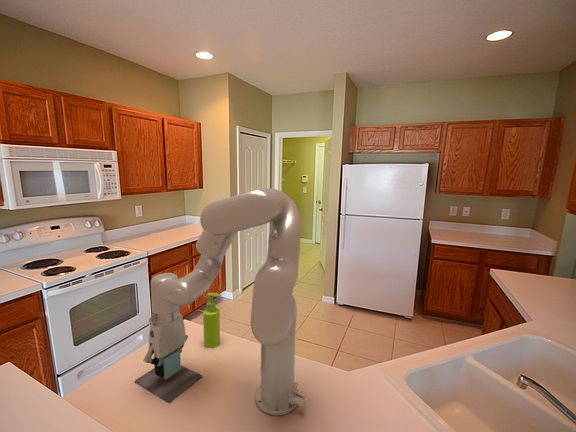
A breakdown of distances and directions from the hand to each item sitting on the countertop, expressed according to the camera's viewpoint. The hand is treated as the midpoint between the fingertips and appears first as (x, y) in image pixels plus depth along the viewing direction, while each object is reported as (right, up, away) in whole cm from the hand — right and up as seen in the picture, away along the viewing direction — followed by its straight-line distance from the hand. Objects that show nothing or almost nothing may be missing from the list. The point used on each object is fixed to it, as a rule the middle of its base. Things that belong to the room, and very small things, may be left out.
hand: (168, 369), depth 84 cm
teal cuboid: (0, -1, 0) cm, 1 cm away
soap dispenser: (+9, -1, +20) cm, 21 cm away
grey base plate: (0, -3, 0) cm, 3 cm away
